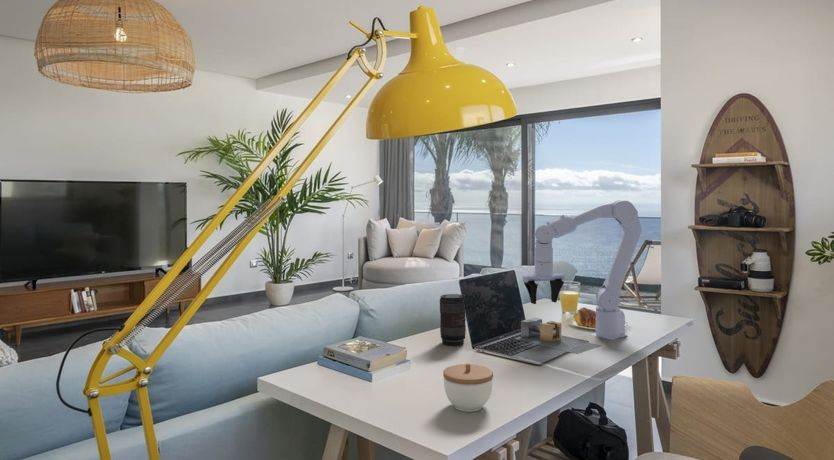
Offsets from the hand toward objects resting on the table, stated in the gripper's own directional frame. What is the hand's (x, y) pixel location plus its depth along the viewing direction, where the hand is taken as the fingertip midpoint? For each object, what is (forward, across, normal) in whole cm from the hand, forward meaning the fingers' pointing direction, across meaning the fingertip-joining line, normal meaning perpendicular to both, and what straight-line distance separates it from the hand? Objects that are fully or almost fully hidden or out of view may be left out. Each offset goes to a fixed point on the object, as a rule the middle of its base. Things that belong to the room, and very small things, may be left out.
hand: (543, 302), depth 178 cm
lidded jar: (+11, -47, -50) cm, 69 cm away
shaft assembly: (+10, -5, -7) cm, 13 cm away
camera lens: (+11, -32, -1) cm, 34 cm away
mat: (+10, -2, -12) cm, 16 cm away
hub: (+10, -3, -10) cm, 14 cm away
